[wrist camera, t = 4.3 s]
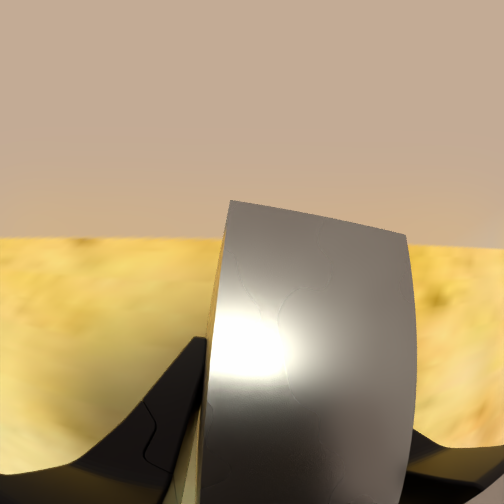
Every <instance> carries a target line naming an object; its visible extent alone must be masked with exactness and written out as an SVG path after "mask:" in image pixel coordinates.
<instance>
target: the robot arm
mask: <svg viewBox="0 0 504 504" xmlns="http://www.w3.org/2000/svg"><path fill="white" fill-rule="evenodd" d="M206 347H207V339H206V338H204V337H197V336H195V337H193V338H192V339H191V341H190V342H189V343H188V344H187V346H186V347H185V348H184V349H183V350H182V352H181V353H180V354H179V355H178V356H177V358H176V359H175V360H174V361H173V363H172V364H171V365H170V366H169V367H168V369H167V370H166V371H165V372H164V373H163V375H162V376H161V377H160V378H159V379H158V381H157V382H156V383H155V384H154V385H153V387H152V388H151V389H150V390H149V391H148V393H147V394H146V395H145V396H144V397H143V399H142V401H140V402H139V403H138V404H137V406H136V407H135V408H134V409H133V410H132V411H131V412H130V414H129V415H128V416H127V417H126V418H125V419H124V420H123V421H122V422H121V423H120V424H119V425H118V426H117V427H115V428H114V429H113V430H112V431H111V432H110V433H109V434H108V435H106V436H105V437H104V438H103V439H102V440H101V441H99V442H98V443H97V444H96V445H95V446H93V447H92V448H91V449H90V450H89V451H87V452H86V453H85V454H84V455H83V456H81V457H80V458H78V459H77V460H75V461H73V462H71V463H68V464H66V465H62V466H58V467H53V468H48V469H43V470H38V471H33V472H27V473H20V474H12V475H5V474H0V504H181V502H182V496H183V491H184V486H185V481H186V475H187V470H188V465H189V460H190V455H191V450H192V445H193V440H194V435H195V431H196V426H197V421H198V416H199V411H200V406H201V397H202V388H203V379H204V370H205V359H206ZM398 504H504V445H501V446H492V447H478V448H448V447H444V446H441V445H439V444H437V443H435V442H433V441H432V440H430V439H429V438H427V437H425V436H424V435H422V434H421V433H419V432H418V431H416V430H414V429H413V431H412V439H411V446H410V452H409V458H408V464H407V469H406V474H405V479H404V483H403V487H402V492H401V496H400V500H399V503H398Z"/></svg>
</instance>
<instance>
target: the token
mask: <svg viewBox="0 0 504 504" xmlns="http://www.w3.org/2000/svg"><path fill="white" fill-rule="evenodd" d="M206 339H207V347H206V359H205V370H204V379H203V388H202V397H201V406H200V411H199V416H198V425H197V446H196V487H195V504H398V503H399V500H400V496H401V492H402V487H403V483H404V479H405V474H406V469H407V464H408V458H409V452H410V446H411V439H412V431H413V422H414V412H415V399H416V379H417V335H416V315H415V302H414V291H413V281H412V273H411V265H410V258H409V252H408V245H407V240H406V235H404V234H400V233H396V232H392V231H387V230H383V229H379V228H374V227H370V226H365V225H361V224H356V223H352V222H347V221H342V220H337V219H333V218H328V217H323V216H318V215H313V214H308V213H302V212H297V211H292V210H286V209H280V208H275V207H269V206H263V205H258V204H252V203H245V202H239V201H233V200H230V205H229V210H228V215H227V220H226V225H225V230H224V235H223V240H222V245H221V251H220V256H219V261H218V267H217V272H216V278H215V283H214V289H213V295H212V300H211V306H210V312H209V318H208V324H207V332H206Z"/></svg>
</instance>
